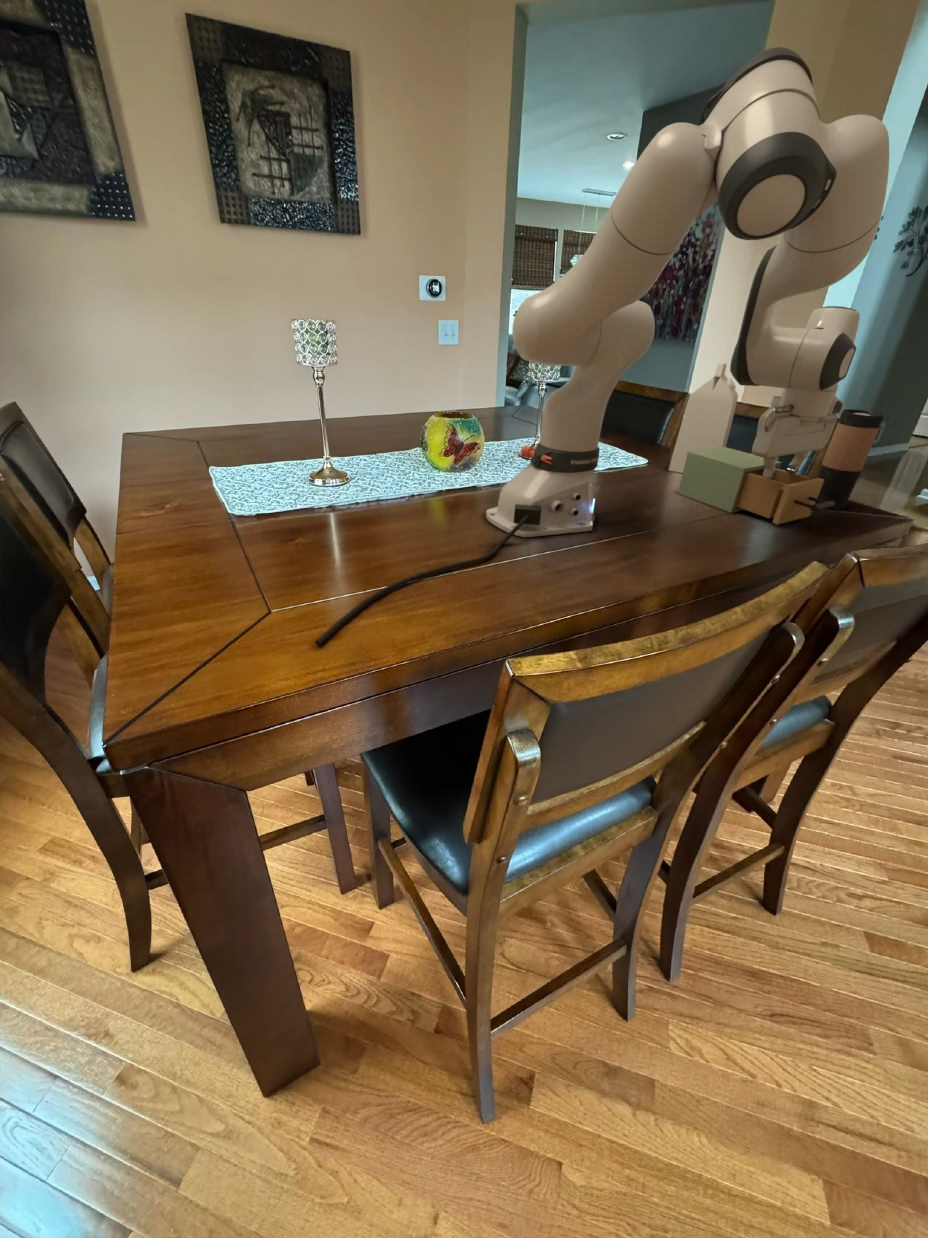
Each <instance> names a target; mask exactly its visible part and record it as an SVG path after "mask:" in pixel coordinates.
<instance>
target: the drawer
mask: <svg viewBox="0 0 928 1238" xmlns="http://www.w3.org/2000/svg"><path fill="white" fill-rule="evenodd" d="M775 469H777V471H776V473H775V476H774V477H772V478H766V477H763V472H764V469H759V470H754V471H748V472H746V473H745V476H744V480H743V483H742V486H741V489H740V492H739V496H738V499H737V502H736V505H735V506H736V507H739V508H742V509H744V510H743V511H748V512H749V513H753V514H755V515H758V516H762V517H764V518H767V519H772V518H773V519H772V523H773V524H776V525H780V524H785V523H788V522H792V521H796V520H797V521H798V520H800V519H805V518H808V517H811V516H812V513H816V512H820V511H824V510H829V509H828V508H832V507H834V505H835V502H834V501H824V500H821V499H817V498H818V495H819V493H820V490H821V487H822V485H823V482H824V479H821V478H817V477H816V478H813V479H811V477H809V476H806V475H802V474H799V473H794V474H791V473H787V471H786V470H785V469H781V468H779V469H778V468H775ZM783 484H786V485H785V488H784V491H783V494H782V497H781V499H780V502H779V505H778V508H777V510H774V508H775V505H776V503H777V500H778V497H779V494H780V491H781V488H782V486H783ZM816 502H818V504H815V503H816Z"/></svg>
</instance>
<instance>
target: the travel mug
mask: <svg viewBox="0 0 928 1238" xmlns="http://www.w3.org/2000/svg"><path fill="white" fill-rule="evenodd" d="M884 417H885V414H883V413H879V414H872V413H870V412H869V411H868V410H866V409H865V410H864V409H856V408H855V409H853V408H850V409H849V408H847V409H843V410H842V412H841V413H840V416H839V419H838V420H837V423H836V425H835V428H834V429H835V430H834V431H833V434H832V437H831V439H830V442H829V444H828V447H827V449H826V452H825V454H824V457H823V460H822V461H821V465H820V468H819V471H818V473H817V475H816V479H817V478H821V479H824V482H823V485H822V487H821V490H820V493H819V495H818V498H817V499H821V500H824V501H834V502H835V505H834V507H832V508H828V509H827V510H834V511H835V510H837V511H838V510H839V511H840V510H844V508H845V507H846V505H847V503H848V501H849V499H850V496H851V494H852V493H853V490H854V488H855V486H856V483H857V481H858V479H859V477H860V475H861V474H862V471H863V468H864V466H865V463H866V460H867V459H868V456H869V453H870V452H871V449H872V446H873V444H874V442H875V439H876V436H877V434H878V432H879V429H880V427H881V425H882V422H883V419H884ZM815 504H818V502H816V503H815Z"/></svg>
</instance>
